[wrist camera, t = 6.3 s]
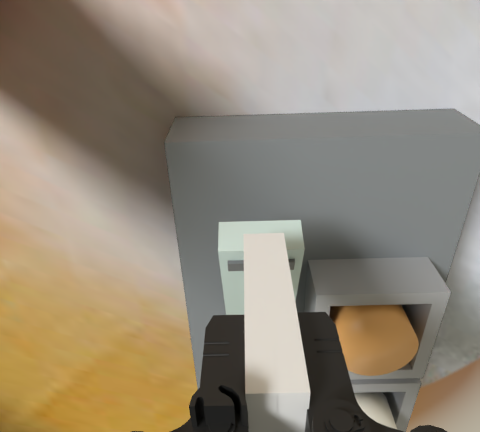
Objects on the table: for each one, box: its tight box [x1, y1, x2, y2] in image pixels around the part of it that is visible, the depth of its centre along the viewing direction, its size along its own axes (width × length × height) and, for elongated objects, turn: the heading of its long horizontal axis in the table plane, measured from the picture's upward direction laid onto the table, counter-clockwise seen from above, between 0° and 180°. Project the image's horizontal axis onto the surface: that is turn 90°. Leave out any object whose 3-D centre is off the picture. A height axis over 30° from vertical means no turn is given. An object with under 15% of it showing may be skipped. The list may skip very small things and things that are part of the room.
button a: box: [354, 392, 397, 429], centre depth 26 cm, size 4×4×3 cm
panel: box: [164, 109, 480, 432], centre depth 26 cm, size 16×23×7 cm
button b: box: [329, 304, 419, 376], centre depth 23 cm, size 4×4×3 cm
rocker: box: [218, 220, 305, 315], centre depth 20 cm, size 4×10×2 cm, turn 2°
